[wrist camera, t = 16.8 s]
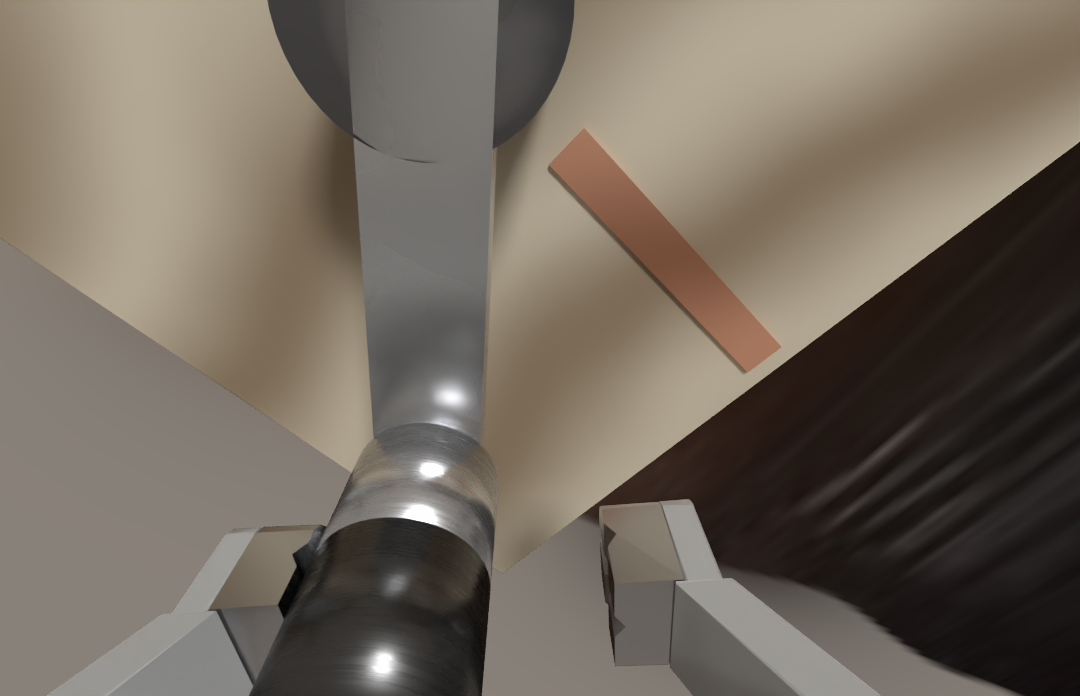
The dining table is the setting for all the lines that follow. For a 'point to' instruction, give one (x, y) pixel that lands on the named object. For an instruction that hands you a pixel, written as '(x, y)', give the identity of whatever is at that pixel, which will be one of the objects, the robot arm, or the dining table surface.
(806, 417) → the dining table surface
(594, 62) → the crank board
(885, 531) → the dining table surface
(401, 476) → the crank
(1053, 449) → the dining table surface
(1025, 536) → the dining table surface
